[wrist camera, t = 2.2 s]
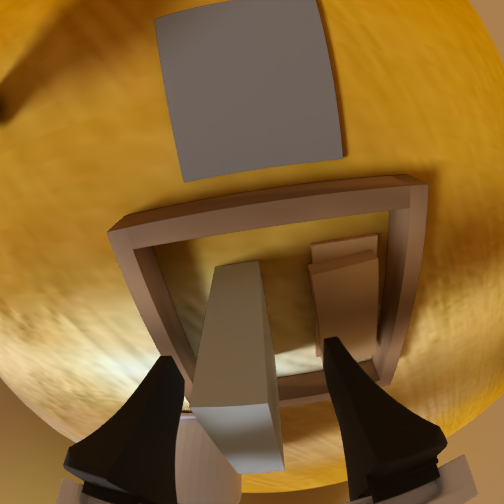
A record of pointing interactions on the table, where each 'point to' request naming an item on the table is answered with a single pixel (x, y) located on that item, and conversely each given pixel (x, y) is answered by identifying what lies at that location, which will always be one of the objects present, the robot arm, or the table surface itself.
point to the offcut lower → (339, 249)
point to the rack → (273, 214)
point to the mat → (248, 86)
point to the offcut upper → (347, 301)
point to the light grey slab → (239, 373)
